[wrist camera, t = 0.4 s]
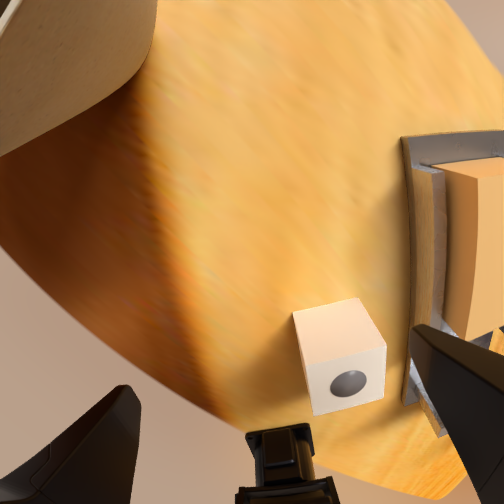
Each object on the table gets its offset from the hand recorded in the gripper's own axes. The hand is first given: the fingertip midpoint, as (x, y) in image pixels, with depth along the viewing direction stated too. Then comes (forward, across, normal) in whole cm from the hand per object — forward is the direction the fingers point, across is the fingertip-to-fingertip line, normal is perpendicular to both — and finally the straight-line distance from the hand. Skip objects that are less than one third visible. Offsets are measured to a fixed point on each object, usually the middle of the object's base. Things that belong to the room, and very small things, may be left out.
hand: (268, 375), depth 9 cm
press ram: (+11, -16, +3) cm, 20 cm away
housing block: (+13, -4, +8) cm, 16 cm away
